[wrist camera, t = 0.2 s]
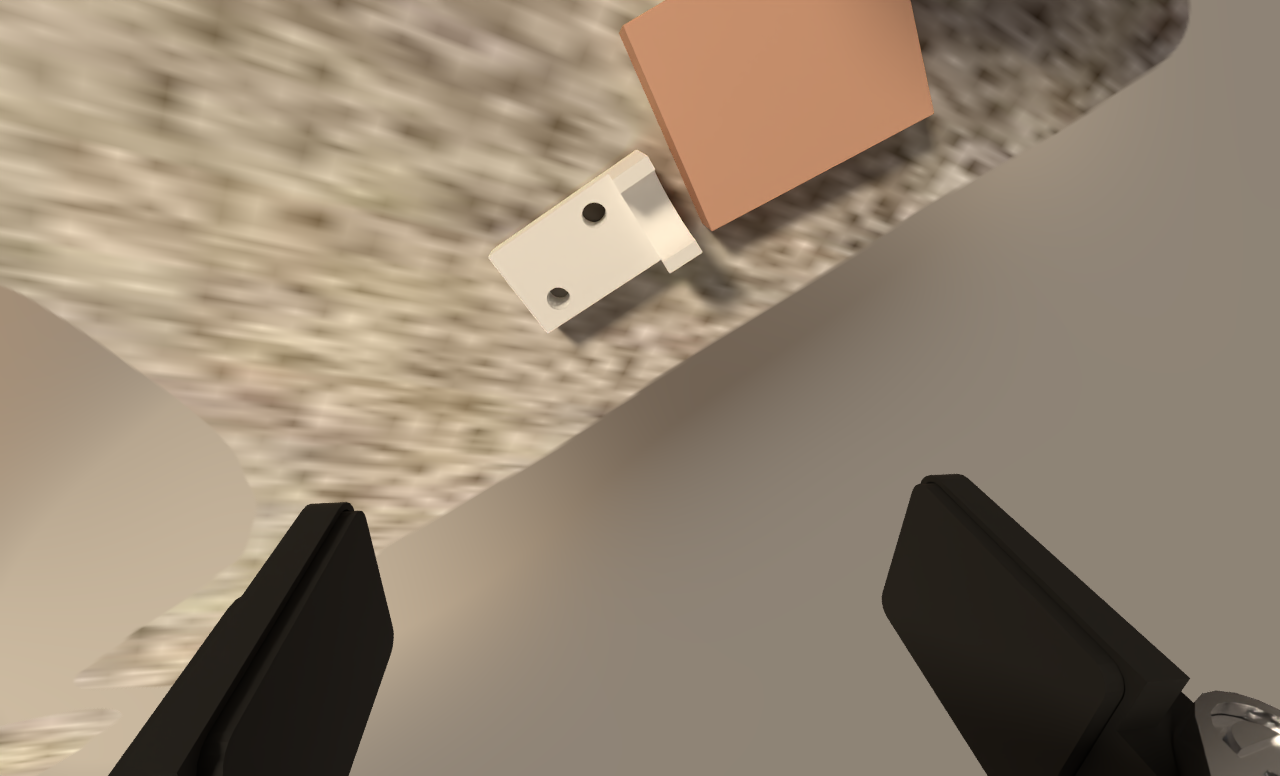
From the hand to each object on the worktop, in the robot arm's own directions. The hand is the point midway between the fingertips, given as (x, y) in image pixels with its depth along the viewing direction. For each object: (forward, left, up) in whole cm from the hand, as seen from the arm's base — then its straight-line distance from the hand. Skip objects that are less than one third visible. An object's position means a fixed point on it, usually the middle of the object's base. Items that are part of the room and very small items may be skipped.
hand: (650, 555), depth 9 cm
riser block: (-2, +16, -37) cm, 40 cm away
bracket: (+2, -1, -37) cm, 37 cm away
